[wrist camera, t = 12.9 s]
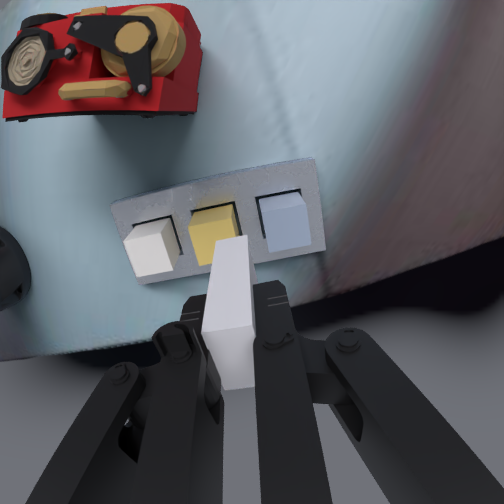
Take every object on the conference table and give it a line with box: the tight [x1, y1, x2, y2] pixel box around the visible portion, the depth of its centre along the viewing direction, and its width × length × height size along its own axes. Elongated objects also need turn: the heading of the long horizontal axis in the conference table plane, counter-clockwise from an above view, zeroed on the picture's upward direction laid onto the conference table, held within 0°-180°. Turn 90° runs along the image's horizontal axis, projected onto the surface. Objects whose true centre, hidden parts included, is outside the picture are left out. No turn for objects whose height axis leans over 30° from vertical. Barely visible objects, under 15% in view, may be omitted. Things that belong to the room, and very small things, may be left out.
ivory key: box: [123, 218, 180, 277], centre depth 36 cm, size 5×5×5 cm
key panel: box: [110, 157, 326, 285], centre depth 39 cm, size 26×12×2 cm, turn 101°
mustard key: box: [188, 204, 240, 266], centre depth 36 cm, size 5×5×5 cm
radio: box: [1, 3, 203, 122], centre depth 22 cm, size 16×10×20 cm, turn 82°
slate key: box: [259, 192, 312, 253], centre depth 35 cm, size 5×5×5 cm
